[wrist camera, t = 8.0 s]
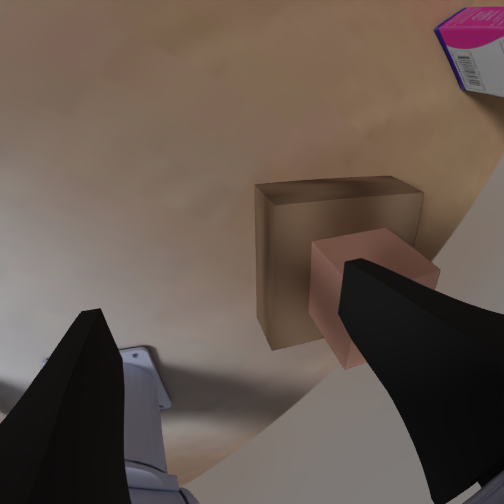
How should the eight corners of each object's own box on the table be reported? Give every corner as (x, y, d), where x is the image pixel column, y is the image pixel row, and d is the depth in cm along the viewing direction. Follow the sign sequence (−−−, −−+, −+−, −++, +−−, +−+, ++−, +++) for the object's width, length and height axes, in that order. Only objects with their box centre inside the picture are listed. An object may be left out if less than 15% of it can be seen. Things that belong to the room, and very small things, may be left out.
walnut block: (255, 313, 24) (271, 350, 20) (252, 182, 19) (274, 205, 15) (368, 288, 26) (394, 317, 22) (387, 174, 21) (424, 192, 18)
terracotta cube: (308, 312, 19) (344, 370, 15) (311, 241, 17) (359, 294, 13) (374, 294, 20) (417, 341, 16) (385, 227, 18) (440, 269, 14)
